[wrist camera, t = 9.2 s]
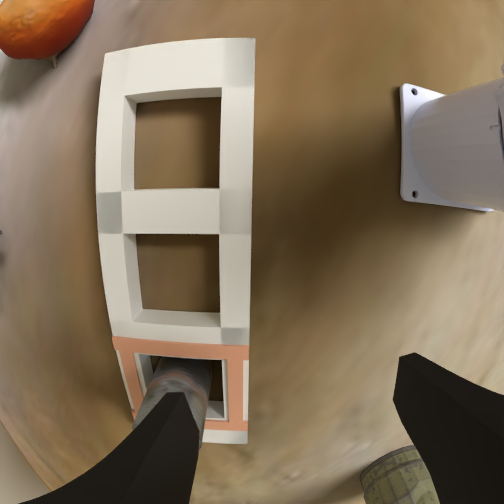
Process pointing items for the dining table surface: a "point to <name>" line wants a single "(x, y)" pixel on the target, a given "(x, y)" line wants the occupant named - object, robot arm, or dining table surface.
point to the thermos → (399, 479)
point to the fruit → (41, 26)
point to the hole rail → (179, 217)
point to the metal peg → (180, 387)
